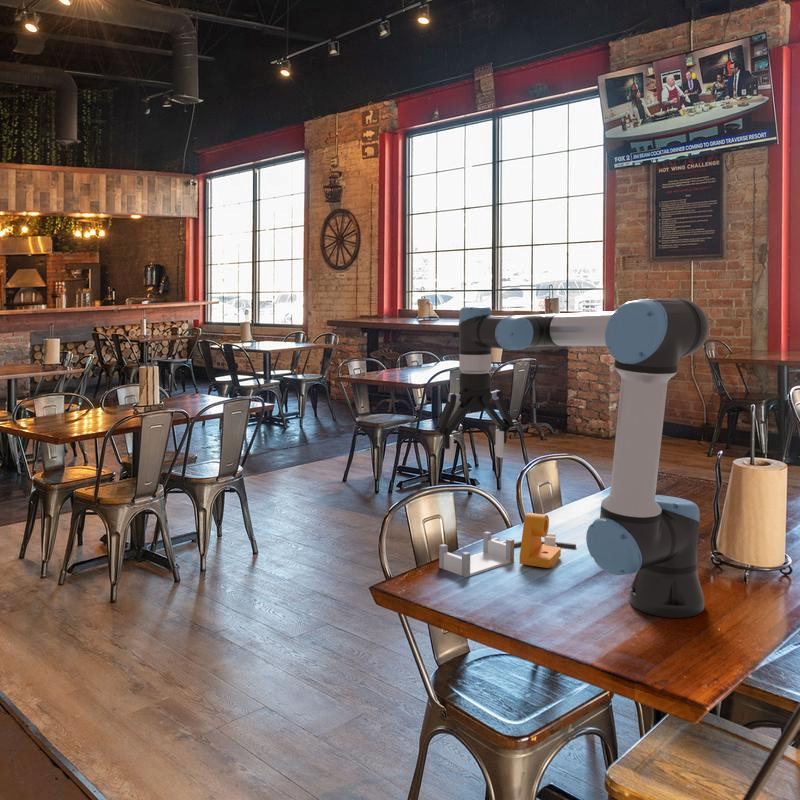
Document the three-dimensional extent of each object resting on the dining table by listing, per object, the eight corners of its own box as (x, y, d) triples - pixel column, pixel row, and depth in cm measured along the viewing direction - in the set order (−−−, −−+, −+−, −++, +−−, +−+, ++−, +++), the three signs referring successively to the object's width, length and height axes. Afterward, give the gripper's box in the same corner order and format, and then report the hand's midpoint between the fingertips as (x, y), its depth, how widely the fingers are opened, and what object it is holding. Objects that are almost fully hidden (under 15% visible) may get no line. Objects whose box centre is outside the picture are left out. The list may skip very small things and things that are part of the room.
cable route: (577, 548, 215) (577, 538, 215) (490, 553, 211) (490, 543, 211) (568, 540, 221) (568, 531, 221) (484, 546, 217) (484, 536, 217)
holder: (514, 561, 205) (514, 539, 204) (465, 577, 195) (466, 554, 194) (487, 552, 212) (487, 531, 211) (439, 567, 201) (439, 545, 201)
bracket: (548, 571, 199) (549, 522, 197) (519, 566, 202) (520, 518, 200) (561, 558, 208) (562, 511, 206) (533, 553, 211) (534, 507, 210)
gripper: (512, 367, 208) (511, 452, 211) (420, 372, 198) (421, 461, 201) (528, 370, 201) (527, 457, 204) (434, 376, 191) (435, 467, 194)
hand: (474, 459), depth 202 cm, fingers open, 13 cm apart
